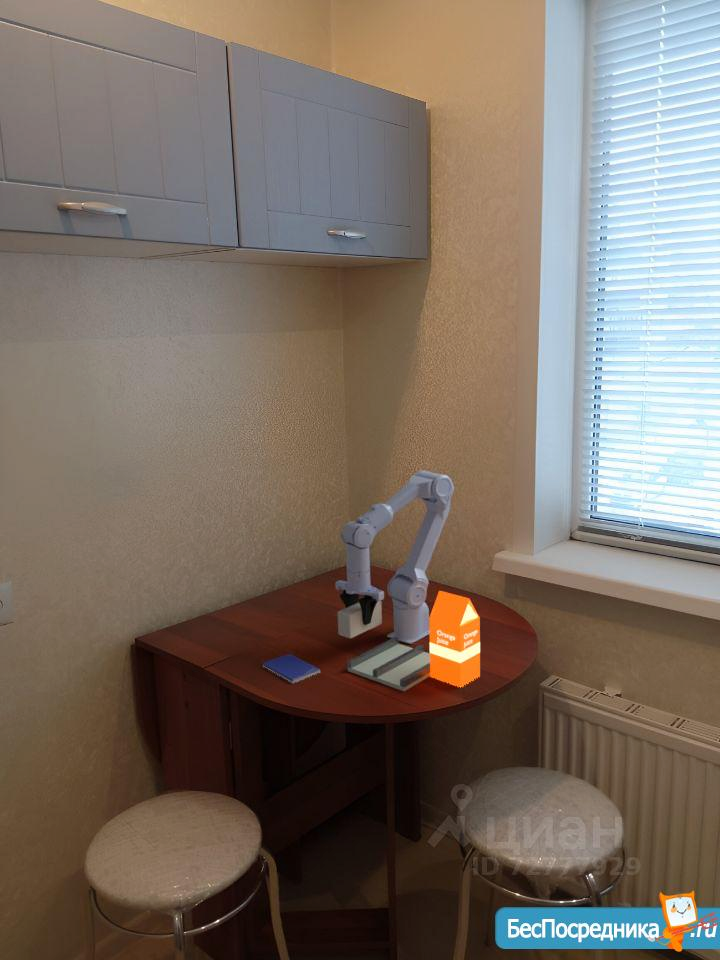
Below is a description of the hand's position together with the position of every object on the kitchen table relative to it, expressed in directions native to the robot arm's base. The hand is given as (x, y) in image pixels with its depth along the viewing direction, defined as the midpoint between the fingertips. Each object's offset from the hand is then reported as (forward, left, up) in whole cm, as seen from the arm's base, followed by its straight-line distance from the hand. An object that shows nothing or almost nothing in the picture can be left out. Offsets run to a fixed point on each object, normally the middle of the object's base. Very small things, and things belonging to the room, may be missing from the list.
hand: (360, 621), depth 190 cm
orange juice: (-2, +27, -8) cm, 28 cm away
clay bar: (0, 0, -2) cm, 2 cm away
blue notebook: (+19, -6, -8) cm, 21 cm away
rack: (+2, +14, -8) cm, 16 cm away
